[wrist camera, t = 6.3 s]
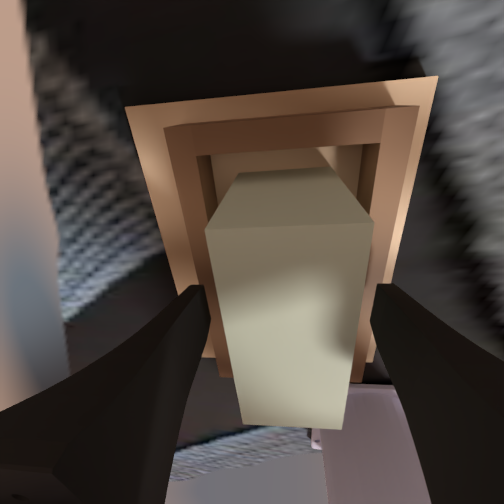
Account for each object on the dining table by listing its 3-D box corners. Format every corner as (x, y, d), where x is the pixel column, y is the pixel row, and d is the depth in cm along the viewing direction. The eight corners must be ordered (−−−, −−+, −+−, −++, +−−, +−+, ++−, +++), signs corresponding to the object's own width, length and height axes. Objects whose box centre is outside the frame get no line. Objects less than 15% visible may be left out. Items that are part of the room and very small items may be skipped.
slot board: (368, 352, 18) (382, 391, 15) (199, 347, 19) (187, 383, 17) (427, 77, 10) (475, 69, 7) (134, 106, 11) (94, 107, 9)
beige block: (330, 166, 11) (374, 222, 6) (321, 320, 15) (341, 429, 10) (238, 172, 12) (204, 229, 6) (255, 320, 16) (243, 423, 11)
